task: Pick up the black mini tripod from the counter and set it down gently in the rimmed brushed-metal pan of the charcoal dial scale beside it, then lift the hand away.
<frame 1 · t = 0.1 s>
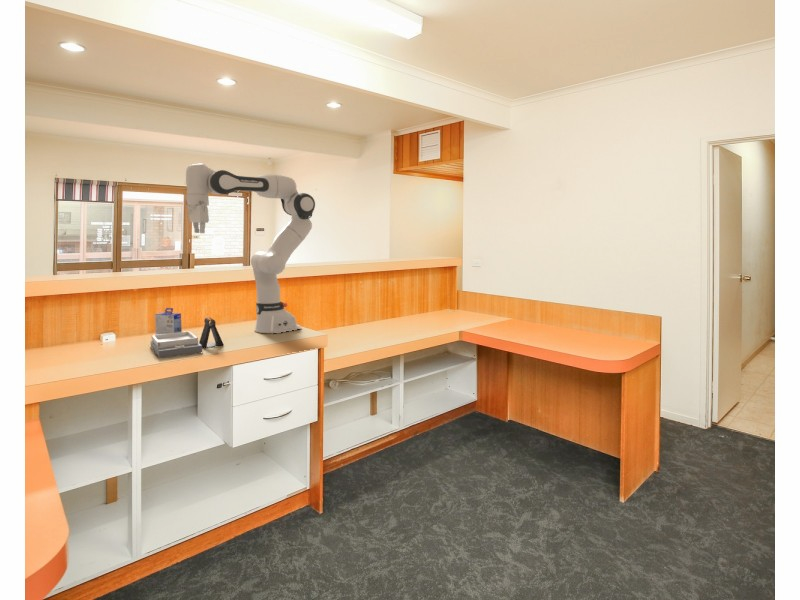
hand: (199, 233, 218), 48 cm above the table, tool pointing down, fingers open, 8 cm apart
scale: (176, 350, 204), on the table
black mini tripod: (211, 346, 212), on the table
ink cartridge box: (169, 340, 221), on the table
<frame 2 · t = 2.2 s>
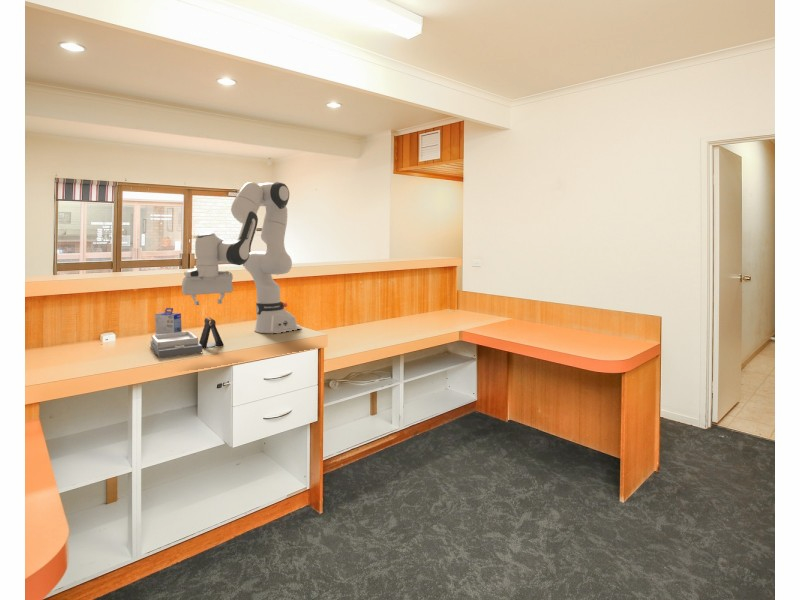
hand: (208, 304, 209), 18 cm above the table, tool pointing down, fingers open, 8 cm apart
nothing on the table moved.
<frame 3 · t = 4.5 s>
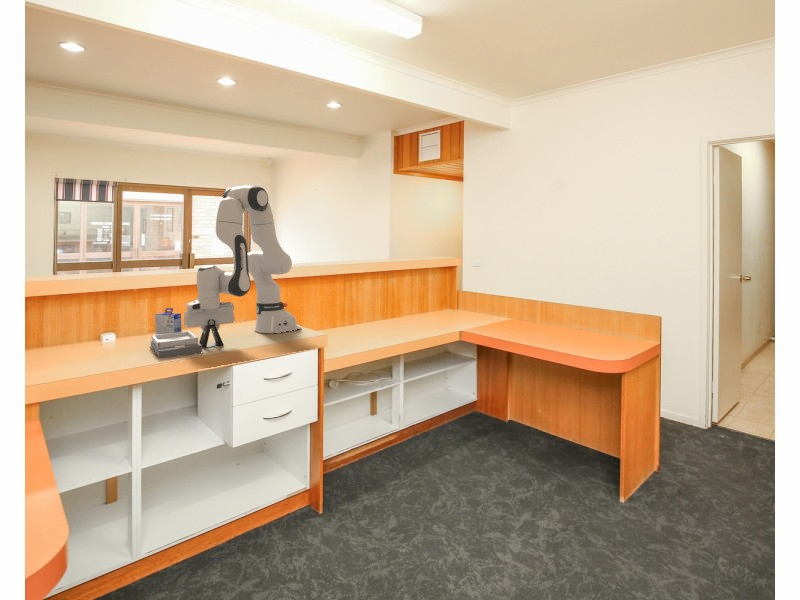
hand: (210, 335, 211), 5 cm above the table, tool pointing down, fingers closed on black mini tripod, 2 cm apart
black mini tripod: (211, 346, 212), on the table, touching gripper
everything else where it was.
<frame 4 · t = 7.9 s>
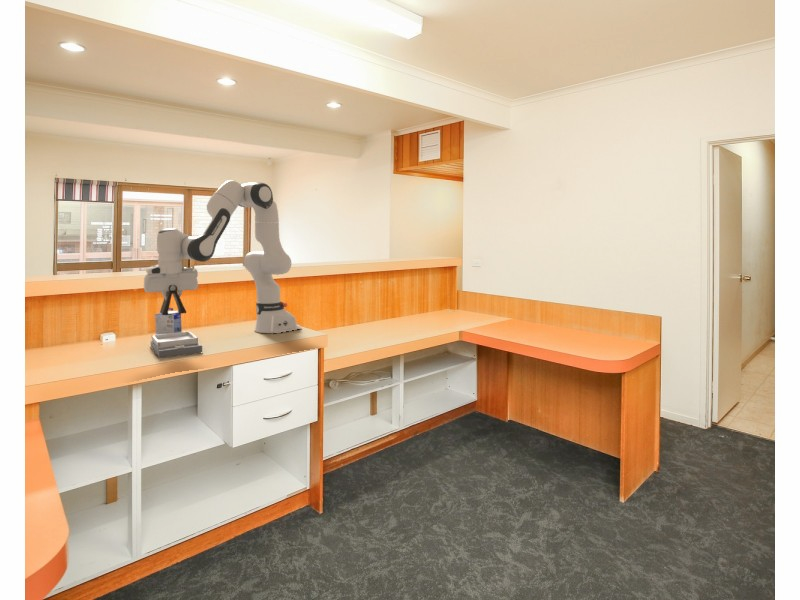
hand: (172, 301, 202), 20 cm above the table, tool pointing down, fingers closed on black mini tripod, 2 cm apart
black mini tripod: (173, 313, 203), point 15 cm above the table, touching gripper
everything else where it was.
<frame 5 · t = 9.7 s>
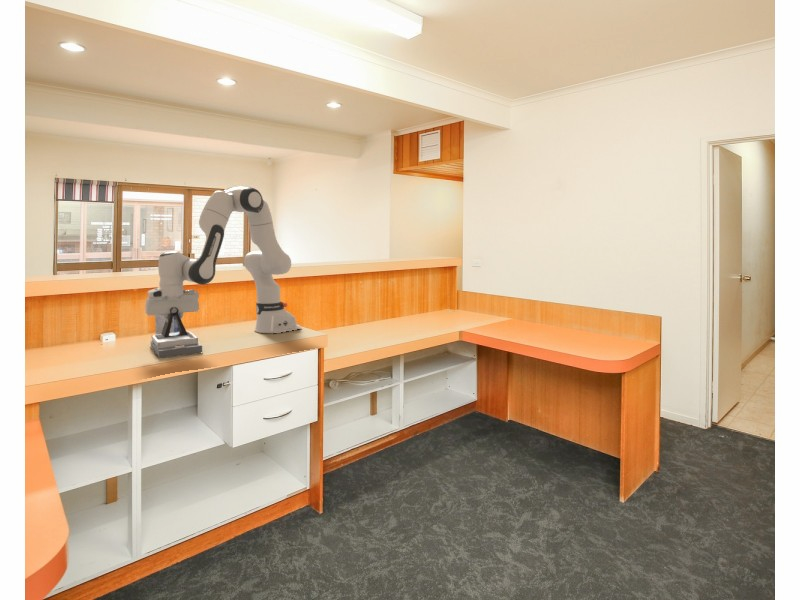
hand: (173, 323, 204), 11 cm above the table, tool pointing down, fingers closed on black mini tripod, 2 cm apart
black mini tripod: (174, 335, 205), point 6 cm above the table, touching gripper
everything else where it was.
when the fingers open (9 cm above the table, at t = 11.2 s): black mini tripod stays where it is, resting on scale.
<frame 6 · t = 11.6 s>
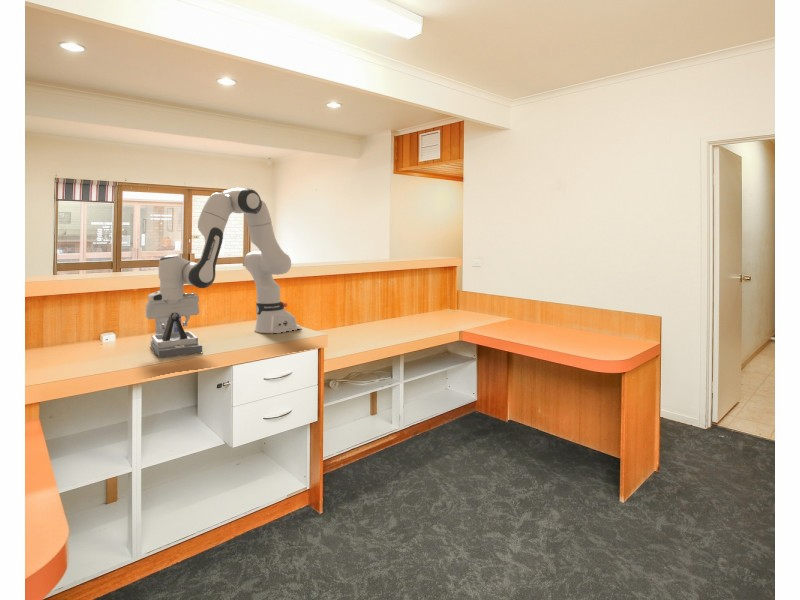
hand: (174, 327, 204), 9 cm above the table, tool pointing down, fingers open, 7 cm apart
black mini tripod: (175, 340, 205), point 4 cm above the table, touching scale
everything else where it was.
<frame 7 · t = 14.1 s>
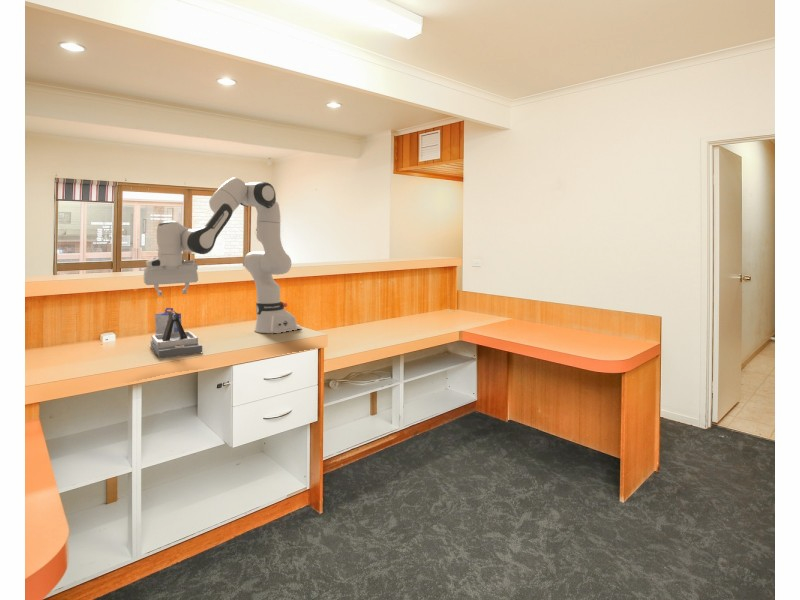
hand: (172, 294, 202), 23 cm above the table, tool pointing down, fingers open, 8 cm apart
nothing on the table moved.
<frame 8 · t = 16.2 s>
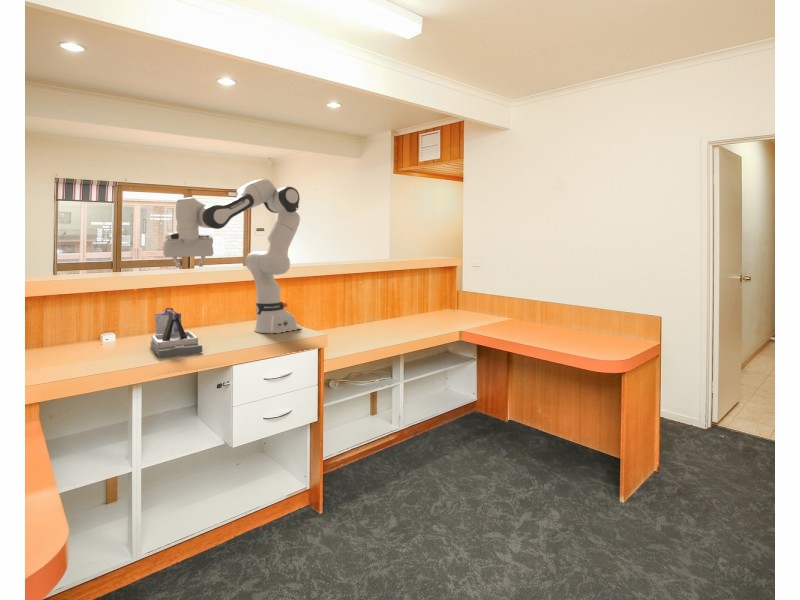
hand: (189, 267, 216), 33 cm above the table, tool pointing down, fingers open, 8 cm apart
nothing on the table moved.
at the end: black mini tripod inside the target area on the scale (0.2 cm from its centre), point 3.6 cm above the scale's base; black mini tripod touching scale; the gripper is holding nothing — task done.
